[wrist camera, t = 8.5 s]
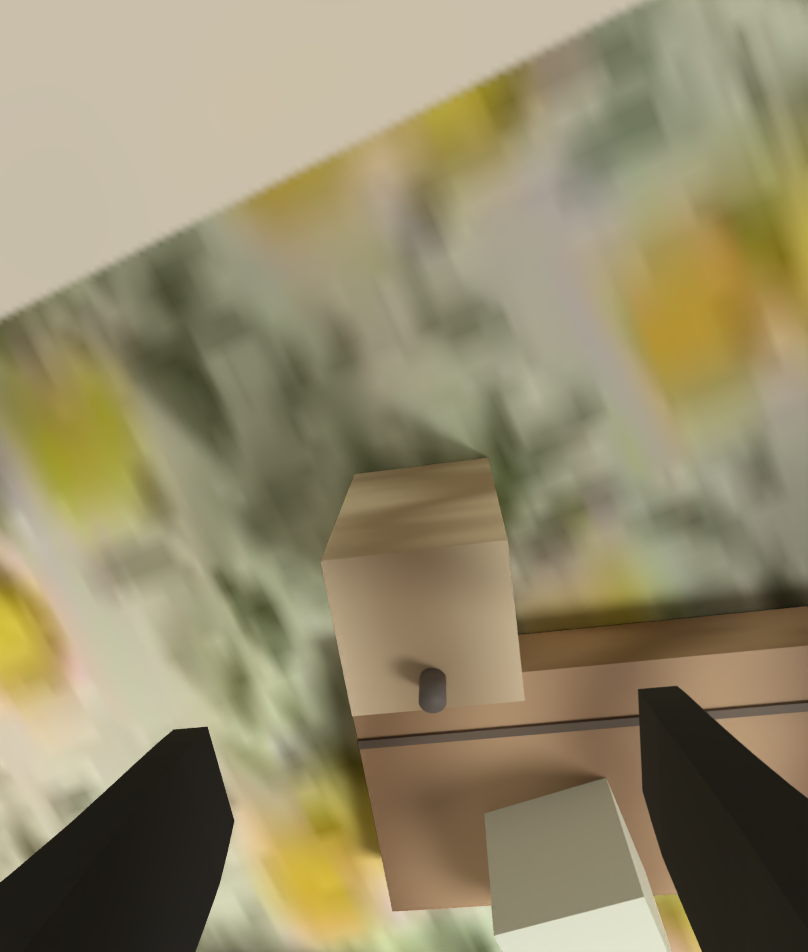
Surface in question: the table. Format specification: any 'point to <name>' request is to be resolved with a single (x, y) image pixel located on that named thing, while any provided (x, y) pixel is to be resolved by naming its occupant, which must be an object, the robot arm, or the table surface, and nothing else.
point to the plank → (574, 740)
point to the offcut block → (569, 876)
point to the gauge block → (423, 591)
